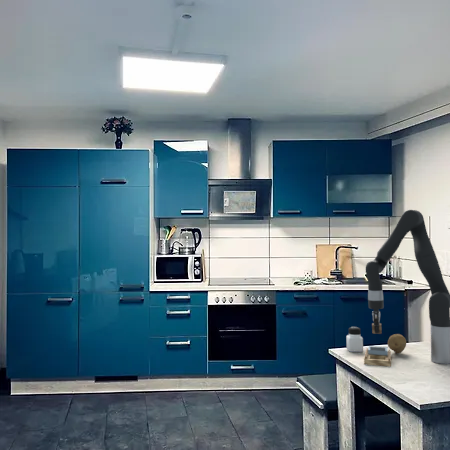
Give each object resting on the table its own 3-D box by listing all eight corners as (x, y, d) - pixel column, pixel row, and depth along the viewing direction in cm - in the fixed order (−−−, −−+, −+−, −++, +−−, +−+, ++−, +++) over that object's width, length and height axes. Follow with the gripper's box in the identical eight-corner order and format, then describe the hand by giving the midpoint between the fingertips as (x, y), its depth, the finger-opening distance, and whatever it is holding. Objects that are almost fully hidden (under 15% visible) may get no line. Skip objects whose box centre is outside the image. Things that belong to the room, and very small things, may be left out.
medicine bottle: (363, 351, 253) (363, 328, 253) (349, 351, 253) (349, 328, 253) (359, 348, 260) (359, 326, 260) (346, 348, 260) (346, 326, 260)
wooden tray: (390, 356, 243) (390, 349, 243) (391, 366, 225) (390, 358, 225) (365, 354, 247) (365, 347, 247) (364, 364, 229) (364, 357, 229)
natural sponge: (396, 356, 243) (396, 336, 243) (383, 352, 251) (383, 333, 251) (410, 354, 246) (409, 334, 247) (397, 350, 255) (397, 331, 255)
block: (381, 332, 253) (381, 323, 253) (381, 333, 249) (381, 325, 249) (372, 331, 255) (372, 323, 255) (372, 333, 250) (372, 324, 251)
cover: (387, 351, 242) (387, 344, 242) (387, 355, 234) (387, 348, 234) (368, 350, 245) (368, 343, 245) (368, 354, 237) (368, 346, 237)
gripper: (383, 300, 244) (384, 335, 244) (383, 297, 258) (384, 329, 257) (367, 300, 247) (368, 334, 246) (368, 297, 260) (370, 329, 260)
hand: (377, 331), depth 252 cm, fingers closed on block, 4 cm apart
